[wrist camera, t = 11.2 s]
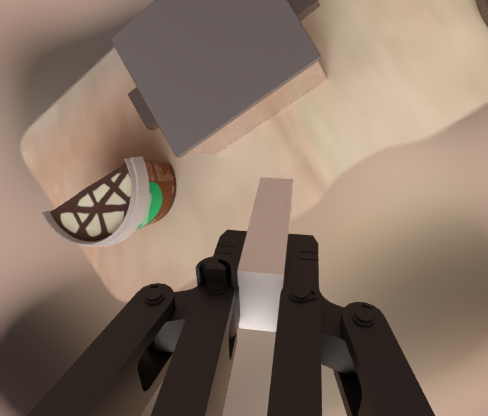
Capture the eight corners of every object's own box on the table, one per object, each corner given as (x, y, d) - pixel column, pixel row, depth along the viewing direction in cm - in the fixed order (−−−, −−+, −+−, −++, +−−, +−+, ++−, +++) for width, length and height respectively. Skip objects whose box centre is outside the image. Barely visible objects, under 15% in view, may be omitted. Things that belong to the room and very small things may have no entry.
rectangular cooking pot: (286, -38, 39) (265, -88, 31) (348, 64, 38) (342, 37, 30) (148, 76, 45) (102, 57, 37) (198, 165, 44) (162, 164, 36)
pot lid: (243, -71, 31) (240, -77, 31) (321, 58, 30) (320, 55, 30) (116, 42, 36) (110, 39, 35) (180, 157, 35) (176, 157, 34)
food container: (124, 250, 48) (63, 270, 38) (103, 206, 48) (37, 215, 39) (204, 206, 44) (159, 216, 35) (181, 158, 44) (129, 155, 35)
